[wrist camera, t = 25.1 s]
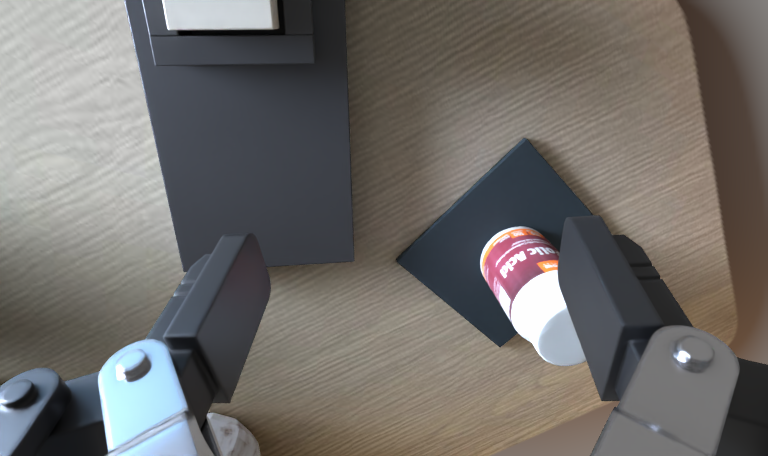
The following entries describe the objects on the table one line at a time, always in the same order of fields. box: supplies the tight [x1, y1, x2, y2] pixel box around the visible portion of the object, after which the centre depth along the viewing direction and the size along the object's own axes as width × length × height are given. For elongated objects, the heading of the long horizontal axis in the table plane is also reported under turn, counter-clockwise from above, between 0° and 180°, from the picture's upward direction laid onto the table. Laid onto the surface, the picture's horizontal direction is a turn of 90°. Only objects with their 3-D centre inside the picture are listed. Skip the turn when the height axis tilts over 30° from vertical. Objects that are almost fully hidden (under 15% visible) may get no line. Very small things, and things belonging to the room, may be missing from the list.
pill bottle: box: [480, 226, 587, 366], centre depth 26 cm, size 5×5×8 cm
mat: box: [396, 138, 593, 347], centre depth 30 cm, size 11×11×1 cm
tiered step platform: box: [124, 0, 354, 272], centre depth 23 cm, size 10×18×4 cm, turn 0°
